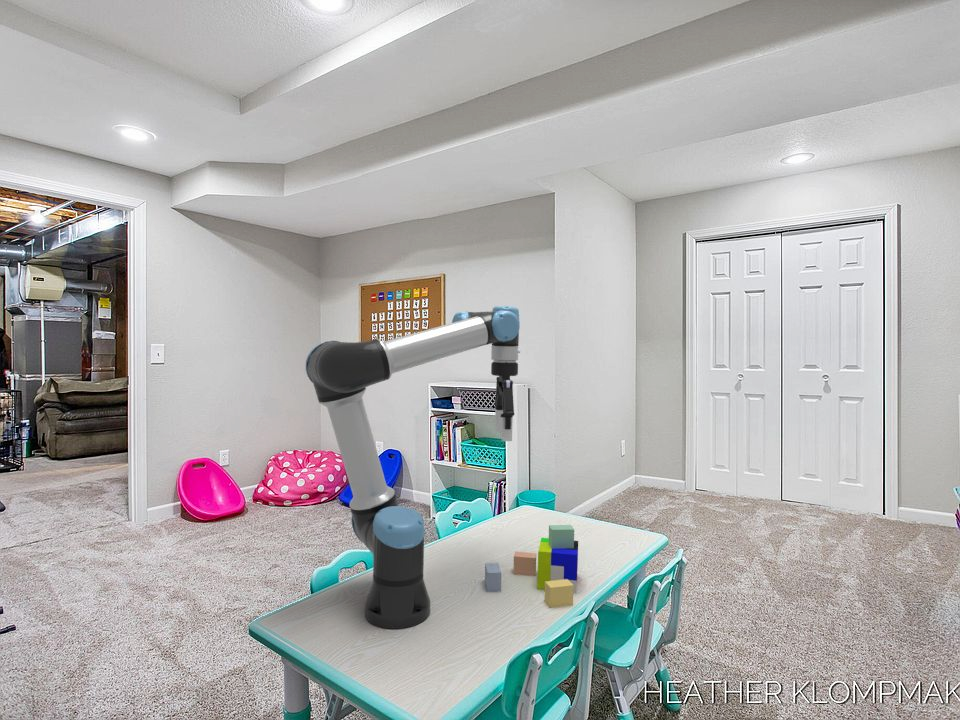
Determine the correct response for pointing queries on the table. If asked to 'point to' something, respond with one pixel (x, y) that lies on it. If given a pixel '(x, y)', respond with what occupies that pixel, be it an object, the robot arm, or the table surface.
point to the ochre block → (558, 593)
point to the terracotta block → (524, 563)
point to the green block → (561, 536)
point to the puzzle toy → (557, 564)
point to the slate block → (492, 577)
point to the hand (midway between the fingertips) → (503, 436)
